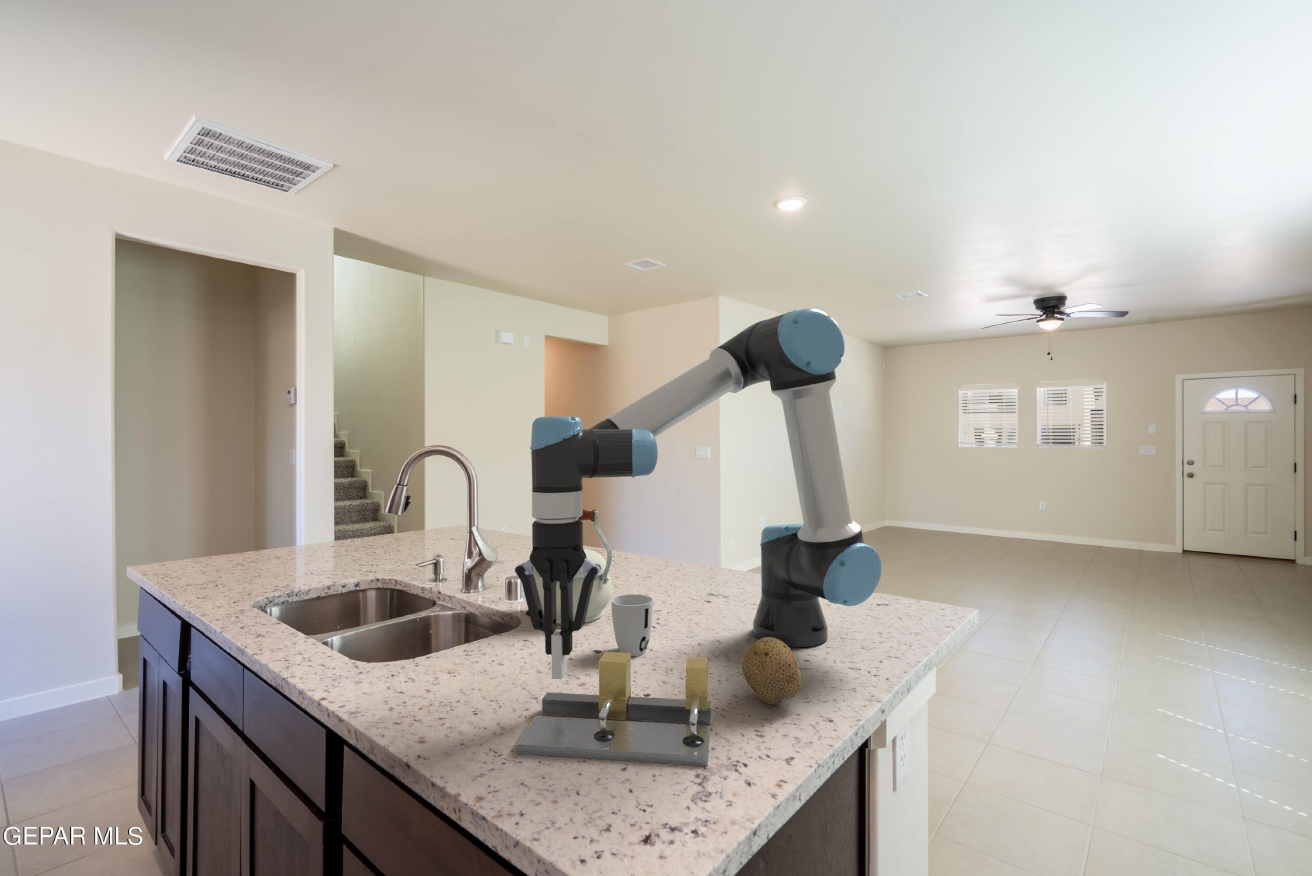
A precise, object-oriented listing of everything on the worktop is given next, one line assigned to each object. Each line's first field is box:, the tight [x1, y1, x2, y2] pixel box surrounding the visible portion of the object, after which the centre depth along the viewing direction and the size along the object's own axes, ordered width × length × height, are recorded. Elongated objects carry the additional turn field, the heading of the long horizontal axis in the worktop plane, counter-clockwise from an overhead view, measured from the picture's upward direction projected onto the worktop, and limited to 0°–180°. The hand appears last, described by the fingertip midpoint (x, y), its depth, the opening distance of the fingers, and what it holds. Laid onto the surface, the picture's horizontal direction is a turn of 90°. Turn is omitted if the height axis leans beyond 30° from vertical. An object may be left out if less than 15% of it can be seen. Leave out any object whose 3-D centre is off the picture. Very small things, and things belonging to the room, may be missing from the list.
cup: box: [610, 593, 654, 657], centre depth 116 cm, size 8×8×10 cm
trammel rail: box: [541, 656, 712, 740], centre depth 86 cm, size 25×11×8 cm, turn 83°
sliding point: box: [598, 651, 632, 734], centre depth 86 cm, size 4×11×8 cm, turn 173°
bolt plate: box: [515, 715, 711, 767], centre depth 81 cm, size 25×8×1 cm, turn 83°
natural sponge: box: [741, 637, 802, 705], centre depth 94 cm, size 9×9×10 cm
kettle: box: [533, 508, 613, 625], centre depth 140 cm, size 25×18×25 cm
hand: (559, 675), depth 90 cm, fingers closed
